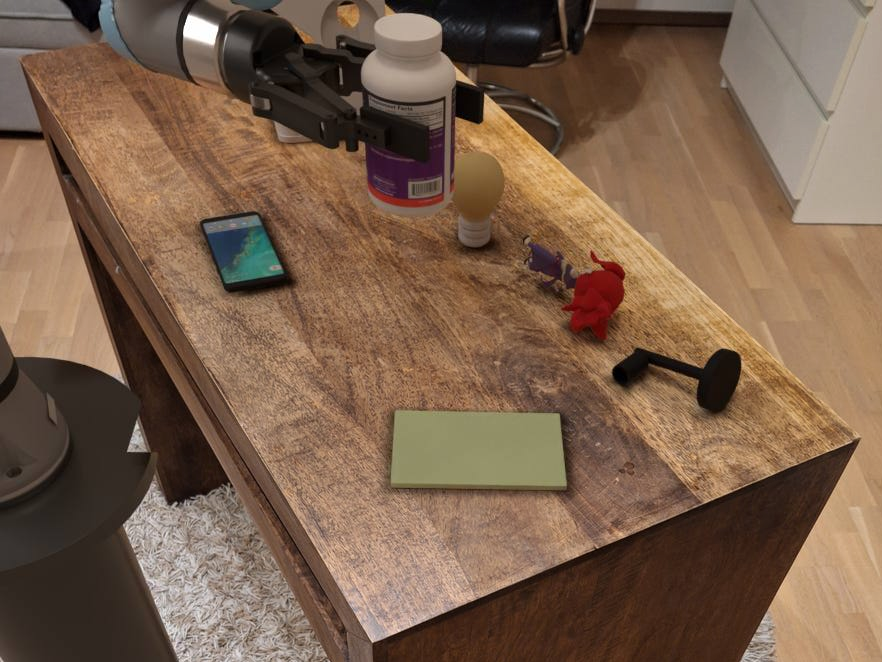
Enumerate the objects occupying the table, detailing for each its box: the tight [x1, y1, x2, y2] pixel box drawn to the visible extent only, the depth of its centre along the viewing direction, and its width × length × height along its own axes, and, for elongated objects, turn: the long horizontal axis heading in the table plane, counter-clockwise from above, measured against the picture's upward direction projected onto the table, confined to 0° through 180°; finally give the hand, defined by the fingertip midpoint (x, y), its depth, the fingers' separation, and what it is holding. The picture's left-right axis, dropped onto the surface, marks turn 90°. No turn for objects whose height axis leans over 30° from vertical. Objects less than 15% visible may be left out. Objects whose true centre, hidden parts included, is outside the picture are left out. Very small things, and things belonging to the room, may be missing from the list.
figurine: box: [522, 234, 627, 341], centre depth 96 cm, size 6×8×15 cm
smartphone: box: [199, 210, 289, 294], centre depth 102 cm, size 7×1×15 cm
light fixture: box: [588, 346, 743, 413], centre depth 89 cm, size 6×11×13 cm
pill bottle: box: [361, 12, 457, 219], centre depth 79 cm, size 8×8×14 cm
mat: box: [390, 409, 568, 491], centre depth 85 cm, size 16×10×1 cm, turn 91°
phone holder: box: [270, 0, 387, 144], centre depth 115 cm, size 17×10×18 cm, turn 104°
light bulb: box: [451, 150, 506, 248], centre depth 102 cm, size 6×6×10 cm
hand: (455, 125), depth 77 cm, fingers closed on pill bottle, 8 cm apart
